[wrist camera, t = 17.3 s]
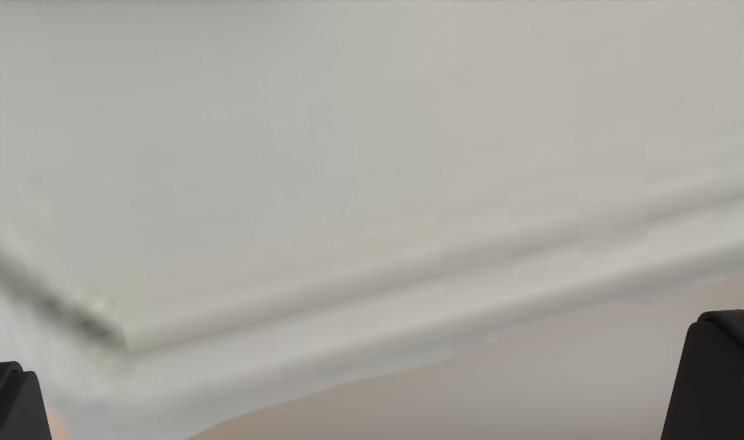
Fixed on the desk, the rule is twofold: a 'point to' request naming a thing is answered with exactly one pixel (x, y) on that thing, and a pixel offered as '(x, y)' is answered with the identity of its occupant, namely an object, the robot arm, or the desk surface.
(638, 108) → the desk surface
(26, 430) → the robot arm
